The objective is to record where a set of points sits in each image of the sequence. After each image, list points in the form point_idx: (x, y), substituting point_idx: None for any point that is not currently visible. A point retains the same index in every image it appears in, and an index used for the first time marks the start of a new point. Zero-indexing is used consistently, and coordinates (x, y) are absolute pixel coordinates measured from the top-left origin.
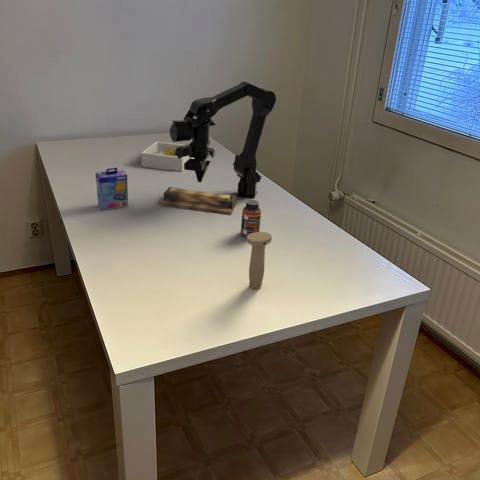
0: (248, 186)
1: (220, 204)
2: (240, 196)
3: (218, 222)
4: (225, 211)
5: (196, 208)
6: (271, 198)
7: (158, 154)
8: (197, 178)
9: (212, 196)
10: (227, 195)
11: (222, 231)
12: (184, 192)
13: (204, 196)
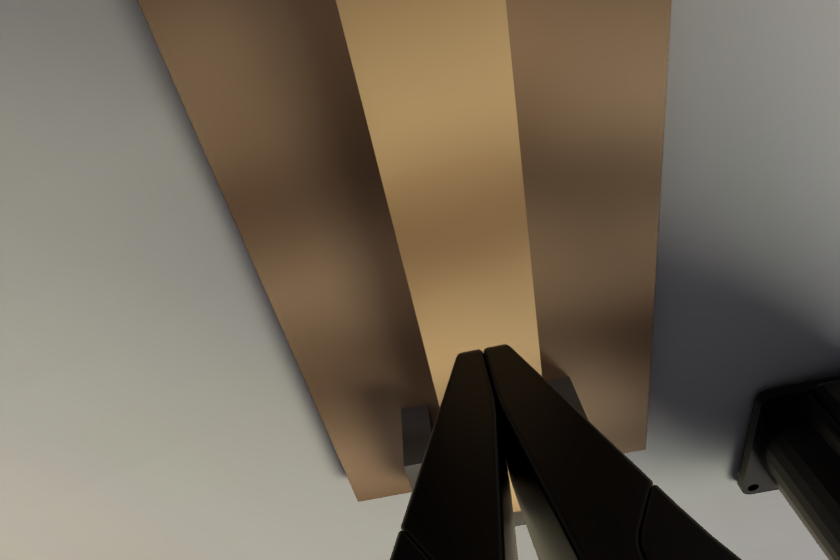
0: (819, 543)
1: (403, 435)
2: (753, 410)
3: (166, 472)
4: (344, 468)
5: (248, 241)
6: (766, 545)
7: None
8: (436, 425)
9: (438, 400)
10: None
11: (63, 535)
12: (347, 1)
13: (416, 313)
